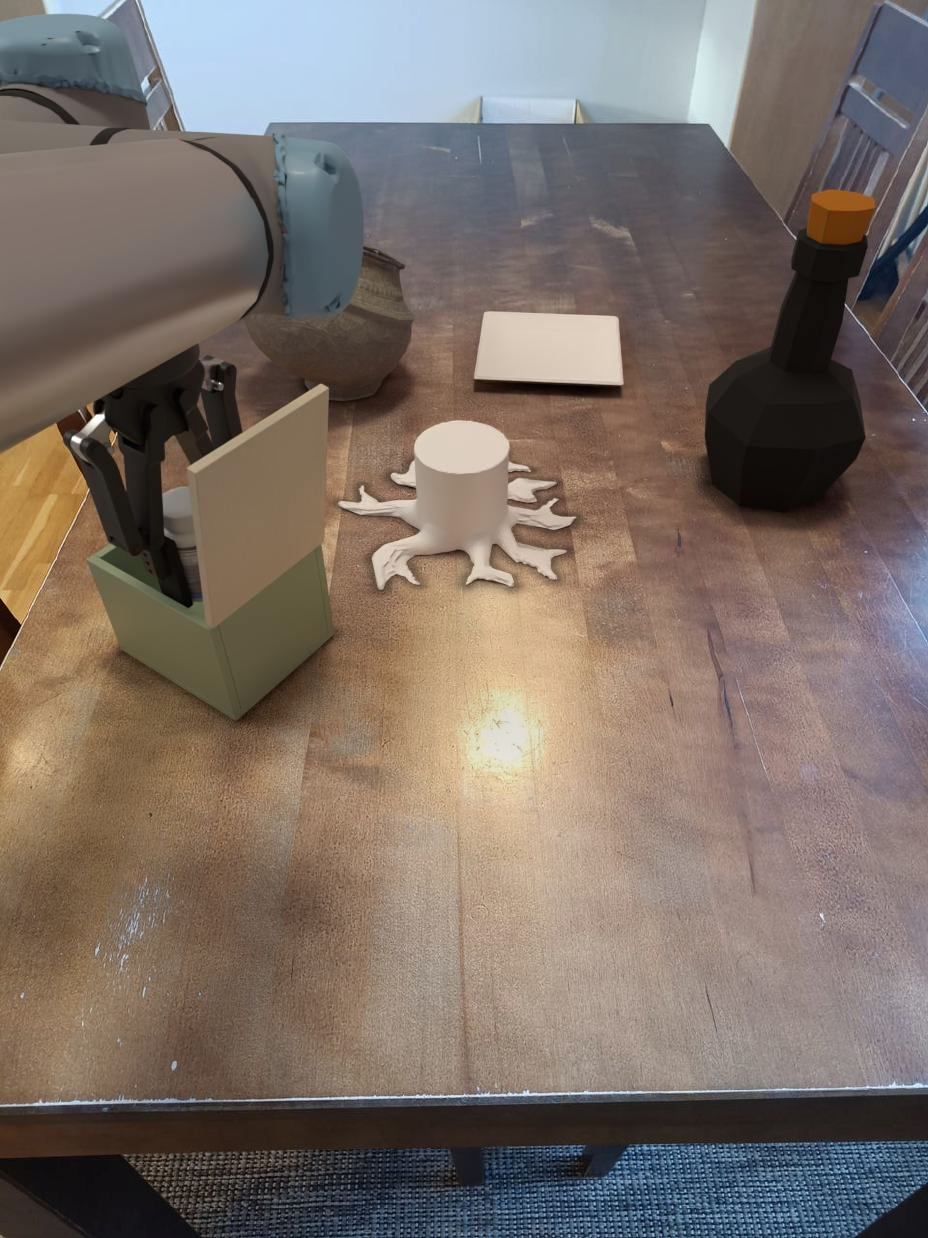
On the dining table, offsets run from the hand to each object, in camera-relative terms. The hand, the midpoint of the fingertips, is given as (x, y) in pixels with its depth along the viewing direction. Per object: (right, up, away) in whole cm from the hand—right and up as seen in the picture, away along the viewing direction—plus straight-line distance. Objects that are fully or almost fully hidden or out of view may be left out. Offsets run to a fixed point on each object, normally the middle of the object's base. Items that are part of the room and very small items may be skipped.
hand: (203, 581), depth 73 cm
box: (0, -5, +9) cm, 10 cm away
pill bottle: (0, 0, 0) cm, 0 cm away
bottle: (+55, +12, +27) cm, 62 cm away
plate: (+33, +31, +47) cm, 65 cm away
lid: (+7, +5, -8) cm, 11 cm away
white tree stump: (+21, +7, +22) cm, 31 cm away
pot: (+5, +27, +42) cm, 50 cm away
